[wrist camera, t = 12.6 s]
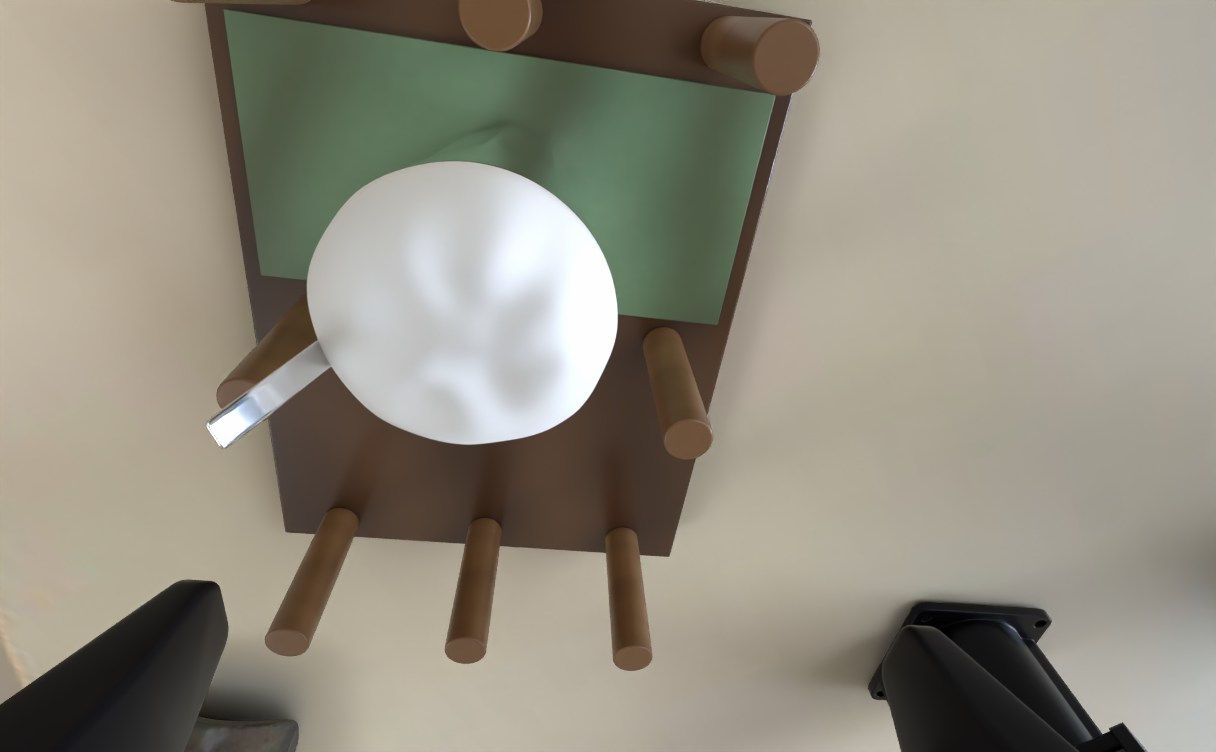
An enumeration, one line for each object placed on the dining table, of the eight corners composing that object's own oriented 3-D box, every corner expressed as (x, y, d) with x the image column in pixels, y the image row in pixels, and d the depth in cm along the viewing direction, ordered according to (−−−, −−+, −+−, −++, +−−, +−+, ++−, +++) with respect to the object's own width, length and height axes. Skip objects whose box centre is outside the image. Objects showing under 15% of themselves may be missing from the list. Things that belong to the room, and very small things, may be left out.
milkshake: (363, 125, 15) (100, 271, 7) (574, 74, 15) (580, 158, 6) (429, 292, 18) (294, 559, 9) (613, 251, 17) (655, 488, 9)
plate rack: (797, 19, 16) (911, 24, 11) (665, 534, 25) (691, 678, 20) (216, -80, 14) (7, -133, 9) (297, 509, 23) (216, 658, 18)
